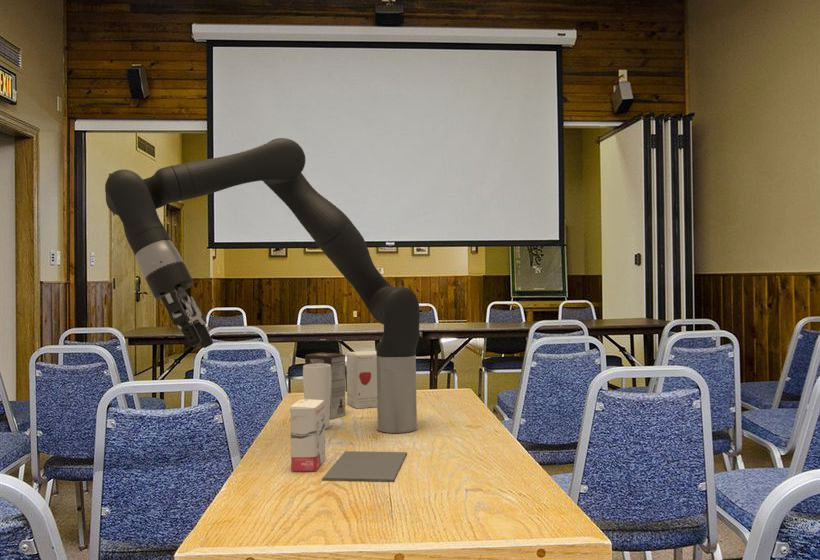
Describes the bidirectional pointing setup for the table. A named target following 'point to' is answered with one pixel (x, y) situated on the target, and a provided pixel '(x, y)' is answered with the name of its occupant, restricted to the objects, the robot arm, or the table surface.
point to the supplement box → (362, 379)
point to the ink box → (307, 434)
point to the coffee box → (333, 379)
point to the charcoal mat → (366, 466)
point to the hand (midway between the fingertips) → (202, 345)
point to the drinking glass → (318, 385)
